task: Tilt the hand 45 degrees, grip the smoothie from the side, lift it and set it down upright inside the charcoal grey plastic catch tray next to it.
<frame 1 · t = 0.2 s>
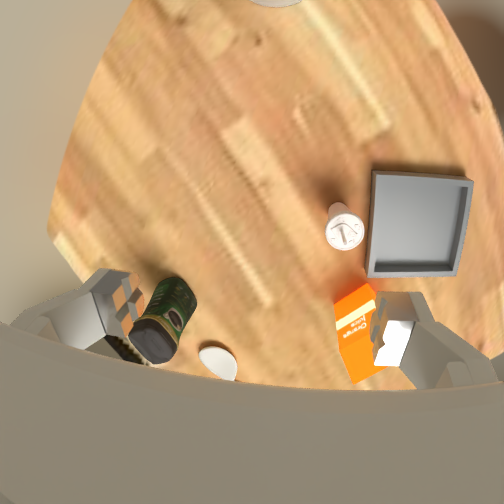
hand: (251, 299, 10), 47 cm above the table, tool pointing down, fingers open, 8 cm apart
catch tray: (416, 223, 56), on the table
spoon: (238, 381, 82), on the table
orange juice: (359, 304, 66), on the table
smoothie: (338, 211, 57), on the table
coffee jar: (178, 293, 71), on the table
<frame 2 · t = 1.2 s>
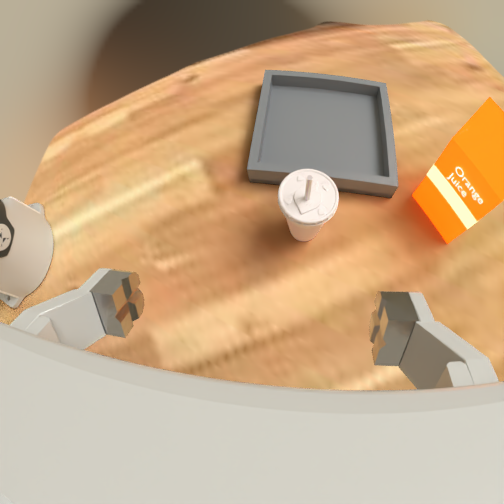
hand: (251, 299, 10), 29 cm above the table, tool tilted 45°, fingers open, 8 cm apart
catch tray: (324, 132, 45), on the table
orange juice: (444, 207, 40), on the table
smoothie: (303, 228, 41), on the table
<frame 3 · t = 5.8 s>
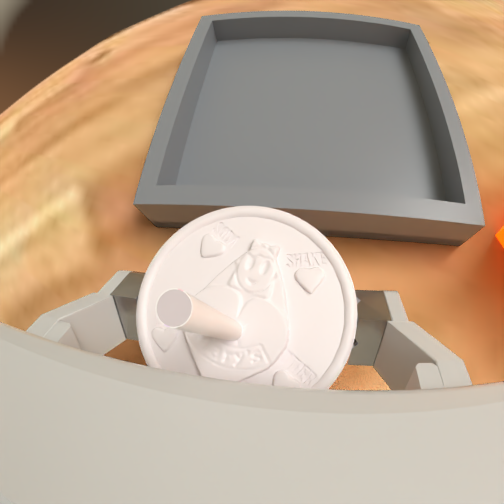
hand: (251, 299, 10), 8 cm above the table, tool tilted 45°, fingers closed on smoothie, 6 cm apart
catch tray: (313, 110, 22), on the table
smoothie: (269, 333, 18), on the table, touching gripper
when the fingers open (10 cm above the table, at t = 11.5 s): smoothie stays where it is, resting on catch tray.
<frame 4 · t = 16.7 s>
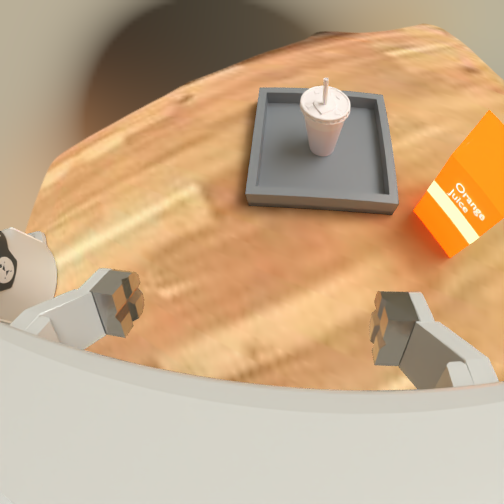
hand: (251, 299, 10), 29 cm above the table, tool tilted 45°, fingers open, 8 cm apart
catch tray: (322, 150, 46), on the table
orange juice: (446, 221, 40), on the table
smoothie: (321, 147, 45), point 1 cm above the table, touching catch tray
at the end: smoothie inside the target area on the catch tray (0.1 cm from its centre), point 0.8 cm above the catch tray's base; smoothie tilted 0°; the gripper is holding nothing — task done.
